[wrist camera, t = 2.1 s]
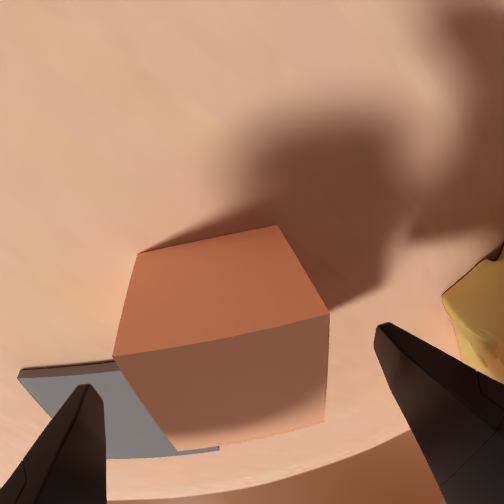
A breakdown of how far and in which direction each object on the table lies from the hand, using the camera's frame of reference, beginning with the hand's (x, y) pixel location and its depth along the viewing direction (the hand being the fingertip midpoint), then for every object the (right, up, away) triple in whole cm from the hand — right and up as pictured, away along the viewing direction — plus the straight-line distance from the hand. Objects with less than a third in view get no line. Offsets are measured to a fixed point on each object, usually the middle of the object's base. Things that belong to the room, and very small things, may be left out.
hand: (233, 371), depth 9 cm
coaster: (-7, -6, +6) cm, 11 cm away
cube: (-1, +2, +3) cm, 4 cm away
